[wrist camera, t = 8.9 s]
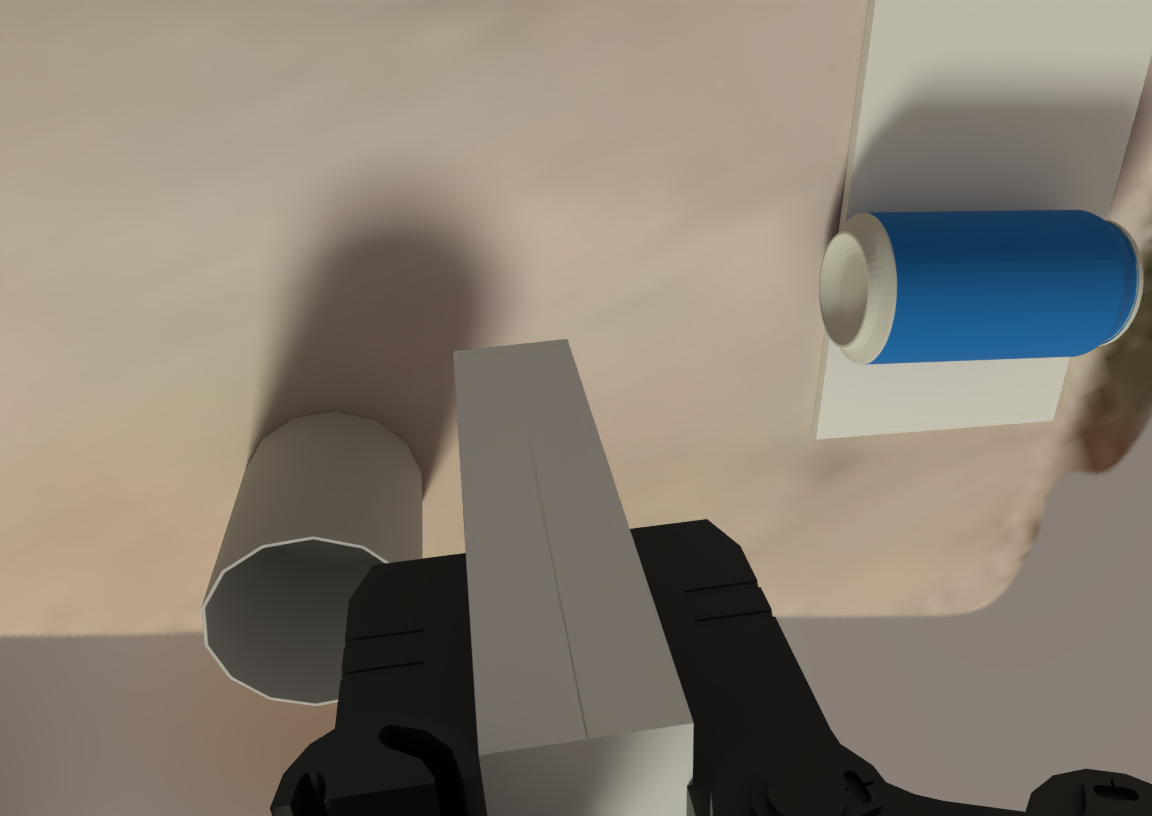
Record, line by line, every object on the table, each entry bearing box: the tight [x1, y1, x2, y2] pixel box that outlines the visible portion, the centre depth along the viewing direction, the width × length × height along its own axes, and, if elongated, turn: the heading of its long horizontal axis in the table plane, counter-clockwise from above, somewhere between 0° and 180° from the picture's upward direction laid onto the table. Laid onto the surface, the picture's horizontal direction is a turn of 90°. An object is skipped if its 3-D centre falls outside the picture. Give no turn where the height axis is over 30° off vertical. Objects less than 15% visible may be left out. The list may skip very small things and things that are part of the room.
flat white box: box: [812, 0, 1152, 439], centre depth 43 cm, size 22×13×1 cm, turn 0°
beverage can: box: [819, 210, 1143, 365], centre depth 41 cm, size 6×6×12 cm
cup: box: [202, 411, 422, 706], centre depth 41 cm, size 8×8×10 cm
